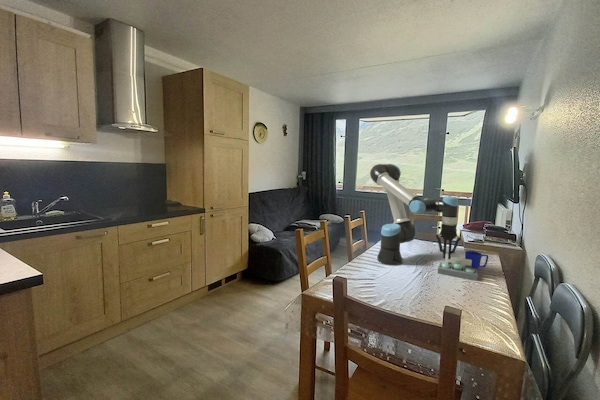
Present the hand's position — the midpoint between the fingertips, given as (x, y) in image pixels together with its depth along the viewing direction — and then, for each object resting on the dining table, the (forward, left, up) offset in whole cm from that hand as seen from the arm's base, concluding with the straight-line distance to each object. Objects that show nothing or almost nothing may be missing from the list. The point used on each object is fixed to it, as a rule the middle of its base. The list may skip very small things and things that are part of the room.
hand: (446, 264), depth 160 cm
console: (+6, 0, -5) cm, 7 cm away
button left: (0, 0, -3) cm, 3 cm away
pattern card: (+6, +8, -5) cm, 11 cm away
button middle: (+6, 0, -2) cm, 6 cm away
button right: (+12, 0, -4) cm, 12 cm away
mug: (+15, +14, -5) cm, 20 cm away
